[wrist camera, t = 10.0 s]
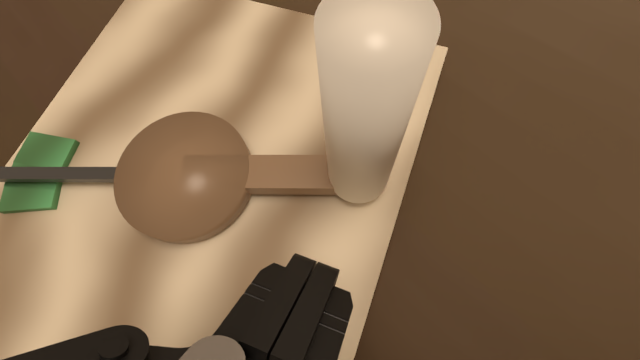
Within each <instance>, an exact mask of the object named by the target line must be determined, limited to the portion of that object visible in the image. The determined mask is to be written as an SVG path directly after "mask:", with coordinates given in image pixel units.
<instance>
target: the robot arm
mask: <svg viewBox="0 0 640 360" xmlns="http://www.w3.org/2000/svg"><path fill="white" fill-rule="evenodd" d="M339 271H340V270H339V269H336V268H334V267H331V266H329V265H326V264H323V263H321V262H318V263H317V261H315V260H312V259H310V258H307V257H304V256H302V255H299V254H297V253H295V254H294V255H293V256H292V258H291V259H290V261H289V263H288V264H287V266H286V267H284V266H281V265H279V264H276V263H272V264H270V265H269V266H267V267H265V268H263V269H262V270H260V271H259V273H258V274H257V276H256V277H255V278H254V280H253V281H252V283H251V284H250V285H249V286H248V288H247V289H246V291H245V293H244V294H243V295H242V296H241V297H240V299H239V300H238V301H237V303H236V304H235V306H234V307H233V308H232V310H231V311H230V312H229V314H228V315H227V316H226V318H225V319H224V320H223V322H222V323H221V325H220V326H219V327H218V329H217V330H216V331H215V332H214V334H213V335H212V336H208V337H205V338H202V339H200V340H198V341H197V342H195V343H194V344H193V345H192V346H190V347H185V348H173V347H162V346H152V345H149V339H148V337H147V335H146V333H145V332H144V331H142V330H141V329H139V328H138V327H135V326H130V325H117V326H112V327H109V328H105V329H102V330H99V331H95V332H92V333H89V334H85V335H82V336H79V337H75V338H72V339H69V340H65V341H62V342H59V343H55V344H52V345H49V346H46V347H42V348H39V349H36V350H32V351H29V352H26V353H22V354H19V355H16V356H12V357H9V358H6V359H2V360H338V356H339V353H340V350H341V346H342V343H343V340H344V336H345V333H346V329H347V326H348V323H349V319H350V316H351V313H352V309H353V303H352V298H351V293H350V292H349V291H346V290H343V289H341V288H338V287H336V286H335V285H336V281H337V278H338V275H339Z"/></svg>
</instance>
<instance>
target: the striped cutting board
mask: <svg viewBox="0 0 640 360" xmlns="http://www.w3.org/2000/svg"><path fill="white" fill-rule="evenodd" d="M447 49H448V48H447V47H443V46H439V45H436V46H435V49H434V52H433V55H432V58H431V60H430V63H429V66H428V69H427V72H426V75H425V78H424V80H423V83H422V86H421V89H420V92H419V95H418V97H417V100H416V103H415V106H414V109H413V112H412V115H411V117H410V120H409V123H408V126H407V129H406V132H405V134H404V137H403V140H402V143H401V146H400V149H399V152H398V154H397V157H396V160H395V163H394V166H393V169H392V172H391V174H390V177H389V180H388V183H387V186H386V188H385V190H384V191H383V193H382V194H381V195H380V196H379V197H377V198H376V199H374V200H372V201H370V202H367V203H351V202H348V201H346V200H343V199H342V198H340V197H339V196H338V195H270V194H251V196H250V198H249V200H248V203H247V204H246V206H245V208H244V209H243V211H242V212H241V214H240V215H239V216H238V217H237V219H236V220H235V221H234V222H232V223H231V224H230V225H229V226H228V227H227V228H225V229H224V230H223V231H221V232H220V233H218V234H216V235H214V236H212V237H210V238H208V239H205V240H202V241H199V242H194V243H189V244H174V243H168V242H164V241H161V240H158V239H156V238H153V237H151V236H148V235H146V234H143V233H141V232H140V231H138V230H136V229H135V228H133V227H132V226H131V225H130V224H129V223H128V222H127V221H126V220H125V219H124V218H123V216H122V214H121V213H120V211H119V209H118V207H117V204H116V201H115V197H114V188H113V186H114V183H103V182H0V360H2V359H6V358H9V357H12V356H16V355H19V354H22V353H26V352H29V351H32V350H36V349H39V348H42V347H46V346H49V345H52V344H55V343H59V342H62V341H65V340H69V339H72V338H75V337H79V336H82V335H85V334H89V333H92V332H95V331H99V330H102V329H105V328H109V327H112V326H117V325H130V326H135V327H138V328H139V329H141V330H142V331H144V332H145V333H146V335H147V337H148V339H149V345H152V346H162V347H173V348H185V347H190V346H192V345H193V344H194V343H195V342H197V341H198V340H200V339H202V338H205V337H208V336H212V335H213V334H214V332H215V331H216V330H217V329H218V327H219V326H220V325H221V323H222V322H223V320H224V319H225V318H226V316H227V315H228V314H229V312H230V311H231V310H232V308H233V307H234V306H235V304H236V303H237V301H238V300H239V299H240V297H241V296H242V295H243V294H244V293H245V291H246V289H247V288H248V286H249V285H250V284H251V283H252V281H253V280H254V278H255V277H256V276H257V274H258V273H259V271H260V270H262V269H263V268H265V267H267V266H269V265H270V264H272V263H276V264H279V265H281V266H284V267H286V266H287V264H288V263H289V261H290V259H291V258H292V256H293V255H294V254H295V253H297V254H299V255H302V256H304V257H307V258H310V259H312V260H315V261H317V263H318V262H321V263H323V264H326V265H329V266H331V267H334V268H336V269H339V270H340V271H339V275H338V278H337V281H336V285H335V286H336V287H338V288H341V289H343V290H346V291H349V292H350V293H351V298H352V303H353V309H352V313H351V316H350V319H349V323H348V326H347V329H346V333H345V336H344V340H343V343H342V346H341V350H340V353H339V356H338V360H354V357H355V354H356V350H357V347H358V344H359V340H360V337H361V334H362V330H363V327H364V324H365V321H366V317H367V314H368V311H369V307H370V304H371V301H372V297H373V294H374V291H375V288H376V284H377V281H378V278H379V274H380V271H381V268H382V264H383V261H384V258H385V254H386V251H387V248H388V245H389V241H390V238H391V235H392V231H393V228H394V225H395V221H396V218H397V215H398V211H399V208H400V205H401V202H402V198H403V195H404V192H405V188H406V185H407V182H408V178H409V175H410V172H411V168H412V165H413V162H414V159H415V155H416V152H417V149H418V145H419V142H420V139H421V135H422V132H423V129H424V125H425V122H426V119H427V116H428V112H429V109H430V106H431V102H432V99H433V96H434V92H435V89H436V86H437V82H438V79H439V76H440V73H441V69H442V66H443V63H444V59H445V56H446V53H447ZM191 111H193V112H204V113H209V114H212V115H215V116H217V117H220V118H222V119H223V120H225V121H227V122H228V123H229V124H231V125H232V126H233V127H234V128H235V129H236V130H237V131H238V133H239V134H240V135H241V137H242V139H243V140H244V142H245V144H246V146H247V147H248V149H249V151H250V153H251V155H326V145H325V135H324V125H323V115H322V105H321V95H320V85H319V75H318V66H317V56H316V46H315V36H314V16H313V15H308V14H304V13H300V12H296V11H292V10H287V9H283V8H279V7H275V6H271V5H267V4H262V3H258V2H254V1H250V0H125V1H124V2H123V3H122V5H121V6H120V7H119V9H118V10H117V12H116V13H115V14H114V16H113V17H112V19H111V20H110V21H109V23H108V24H107V26H106V27H105V28H104V30H103V31H102V32H101V34H100V35H99V37H98V38H97V39H96V41H95V42H94V44H93V45H92V46H91V48H90V49H89V51H88V52H87V53H86V55H85V56H84V57H83V59H82V60H81V62H80V63H79V64H78V66H77V67H76V69H75V70H74V71H73V73H72V74H71V76H70V77H69V78H68V80H67V81H66V83H65V84H64V85H63V87H62V88H61V89H60V91H59V92H58V94H57V95H56V96H55V98H54V99H53V101H52V102H51V103H50V105H49V106H48V108H47V109H46V110H45V112H44V113H43V114H42V116H41V117H40V119H39V120H38V121H37V123H36V124H35V126H34V127H33V128H32V130H31V131H30V133H29V134H28V135H27V137H26V138H25V139H24V141H23V142H22V144H21V145H20V146H19V148H18V149H17V151H16V152H15V153H14V155H13V156H12V158H11V159H10V160H9V162H8V163H7V164H6V166H5V167H117V164H118V161H119V159H120V157H121V155H122V153H123V152H124V150H125V148H126V147H127V146H128V144H129V143H130V142H131V140H132V139H133V138H134V137H135V136H136V135H137V134H138V133H139V132H141V131H142V130H143V129H144V128H146V127H147V126H148V125H150V124H151V123H153V122H155V121H157V120H159V119H161V118H163V117H166V116H169V115H172V114H176V113H181V112H191Z"/></svg>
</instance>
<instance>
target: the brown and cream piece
mask: <svg viewBox="0 0 640 360" xmlns="http://www.w3.org/2000/svg"><path fill="white" fill-rule="evenodd" d="M440 29H441V19H440V14H439V11H438V9H437V7H436V5H435V3H434V1H433V0H322V1H321V3H320V4H319V6H318V8H317V10H316V13H315V16H314V36H315V46H316V56H317V66H318V75H319V85H320V95H321V105H322V115H323V125H324V135H325V145H326V155H251V153H250V151H249V149H248V147H247V146H246V144H245V142H244V140H243V139H242V137H241V135H240V134H239V133H238V131H237V130H236V129H235V128H234V127H233V126H232V125H231V124H229V123H228V122H227V121H225V120H223V119H222V118H220V117H217V116H215V115H212V114H209V113H204V112H193V111H191V112H181V113H176V114H172V115H169V116H166V117H163V118H161V119H159V120H157V121H155V122H153V123H151V124H150V125H148V126H147V127H146V128H144V129H143V130H142V131H141V132H139V133H138V134H137V135H136V136H135V137H134V138H133V139H132V140H131V142H130V143H129V144H128V146H127V147H126V148H125V150H124V152H123V153H122V155H121V157H120V159H119V161H118V164H117V167H0V182H103V183H114V186H113V188H114V197H115V201H116V204H117V207H118V209H119V211H120V213H121V214H122V216H123V218H124V219H125V220H126V221H127V222H128V223H129V224H130V225H131V226H132V227H133V228H135V229H136V230H138V231H140V232H141V233H143V234H146V235H148V236H151V237H153V238H156V239H158V240H161V241H164V242H168V243H174V244H189V243H194V242H199V241H202V240H205V239H208V238H210V237H212V236H214V235H216V234H218V233H220V232H221V231H223V230H224V229H225V228H227V227H228V226H229V225H230V224H231V223H232V222H234V221H235V220H236V219H237V217H238V216H239V215H240V214H241V212H242V211H243V209H244V208H245V206H246V204H247V203H248V200H249V198H250V196H251V194H270V195H338V196H339V197H340V198H342V199H343V200H346V201H348V202H351V203H367V202H370V201H372V200H374V199H376V198H377V197H379V196H380V195H381V194H382V193H383V191H384V190H385V188H386V186H387V183H388V180H389V177H390V174H391V172H392V169H393V166H394V163H395V160H396V157H397V154H398V152H399V149H400V146H401V143H402V140H403V137H404V134H405V132H406V129H407V126H408V123H409V120H410V117H411V115H412V112H413V109H414V106H415V103H416V100H417V97H418V95H419V92H420V89H421V86H422V83H423V80H424V78H425V75H426V72H427V69H428V66H429V63H430V60H431V58H432V55H433V52H434V49H435V46H436V43H437V41H438V38H439V34H440Z"/></svg>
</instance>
